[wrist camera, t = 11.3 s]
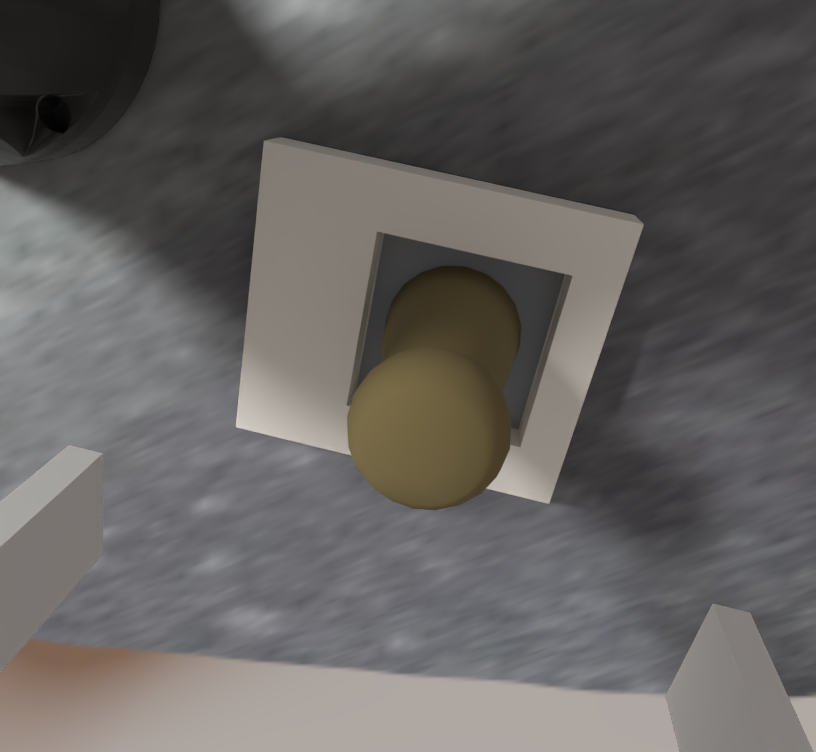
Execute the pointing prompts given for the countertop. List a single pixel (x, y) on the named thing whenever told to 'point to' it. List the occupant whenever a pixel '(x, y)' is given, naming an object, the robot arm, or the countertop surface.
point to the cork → (438, 391)
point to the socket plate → (396, 265)
